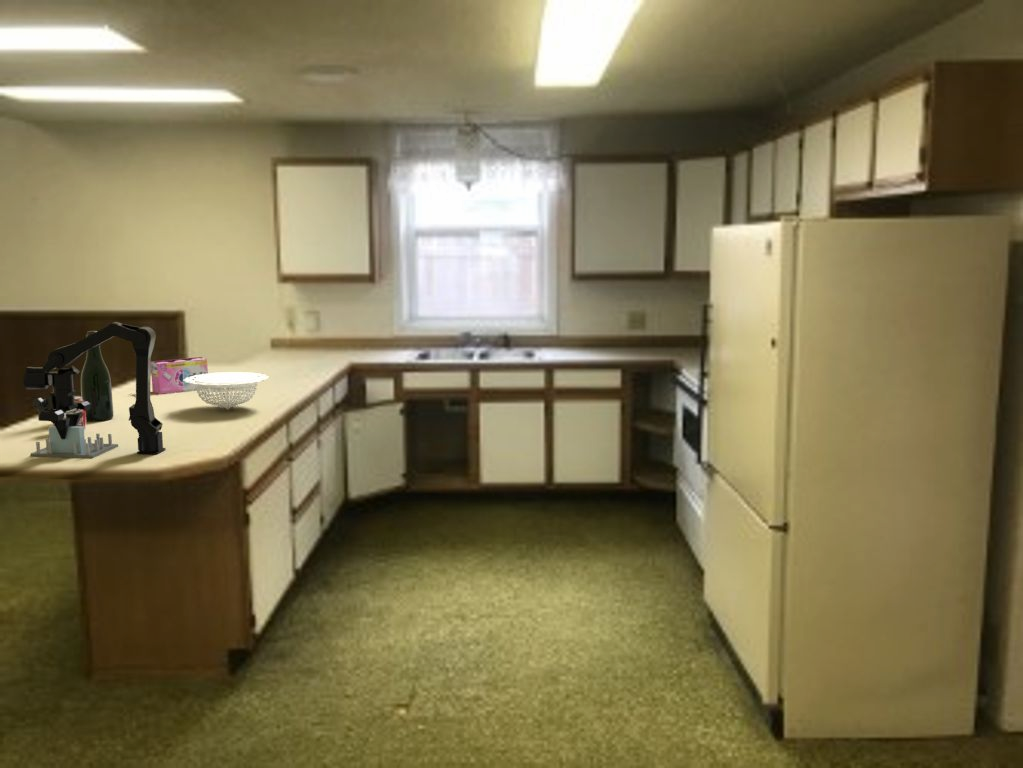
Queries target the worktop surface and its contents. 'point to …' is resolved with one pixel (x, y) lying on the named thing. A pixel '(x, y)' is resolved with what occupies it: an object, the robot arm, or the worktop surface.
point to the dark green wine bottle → (96, 385)
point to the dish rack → (90, 448)
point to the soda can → (83, 418)
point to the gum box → (176, 374)
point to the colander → (229, 382)
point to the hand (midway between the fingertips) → (67, 437)
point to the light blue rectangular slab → (67, 439)
